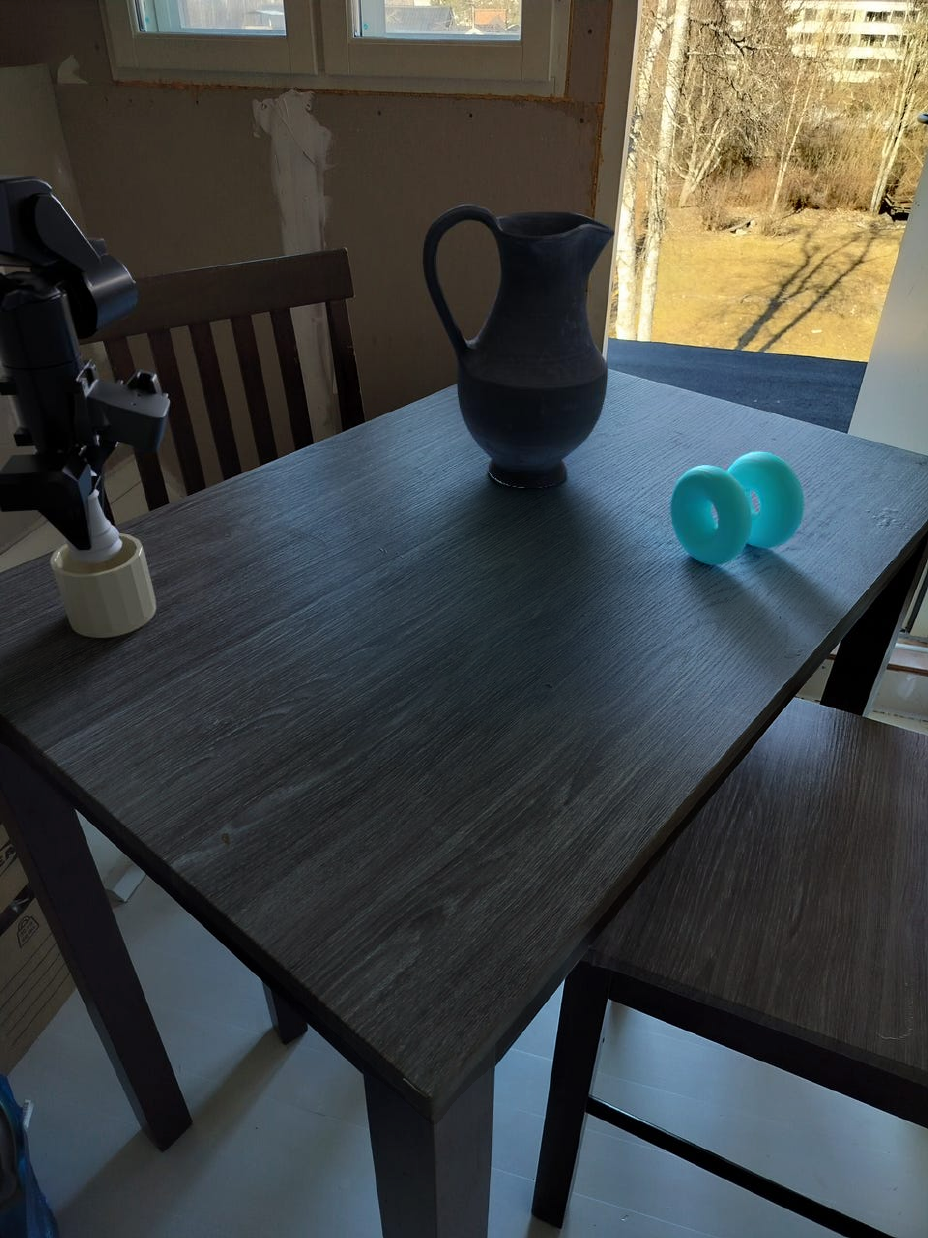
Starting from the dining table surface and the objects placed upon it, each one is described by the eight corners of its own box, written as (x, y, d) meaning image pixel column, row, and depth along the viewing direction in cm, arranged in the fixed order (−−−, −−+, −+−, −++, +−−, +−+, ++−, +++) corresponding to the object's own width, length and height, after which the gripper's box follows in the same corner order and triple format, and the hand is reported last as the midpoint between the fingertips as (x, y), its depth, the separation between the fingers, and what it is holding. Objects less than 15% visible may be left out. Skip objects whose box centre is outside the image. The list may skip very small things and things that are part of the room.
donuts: (658, 540, 90) (671, 453, 85) (728, 519, 94) (746, 434, 89) (723, 585, 83) (743, 493, 78) (797, 560, 87) (821, 471, 81)
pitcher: (614, 500, 98) (648, 216, 81) (436, 512, 95) (431, 222, 78) (575, 440, 112) (597, 187, 95) (419, 449, 109) (411, 191, 92)
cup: (60, 641, 75) (40, 579, 72) (80, 594, 81) (62, 535, 78) (149, 634, 76) (133, 573, 72) (162, 588, 82) (148, 529, 79)
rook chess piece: (119, 535, 77) (98, 453, 73) (127, 558, 74) (105, 473, 70) (67, 546, 76) (42, 463, 71) (72, 569, 72) (46, 484, 68)
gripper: (127, 395, 58) (170, 587, 67) (168, 320, 74) (199, 484, 82) (-44, 402, 57) (23, 597, 66) (33, 324, 72) (79, 491, 81)
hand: (91, 536), depth 74 cm, fingers closed on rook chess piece, 4 cm apart
